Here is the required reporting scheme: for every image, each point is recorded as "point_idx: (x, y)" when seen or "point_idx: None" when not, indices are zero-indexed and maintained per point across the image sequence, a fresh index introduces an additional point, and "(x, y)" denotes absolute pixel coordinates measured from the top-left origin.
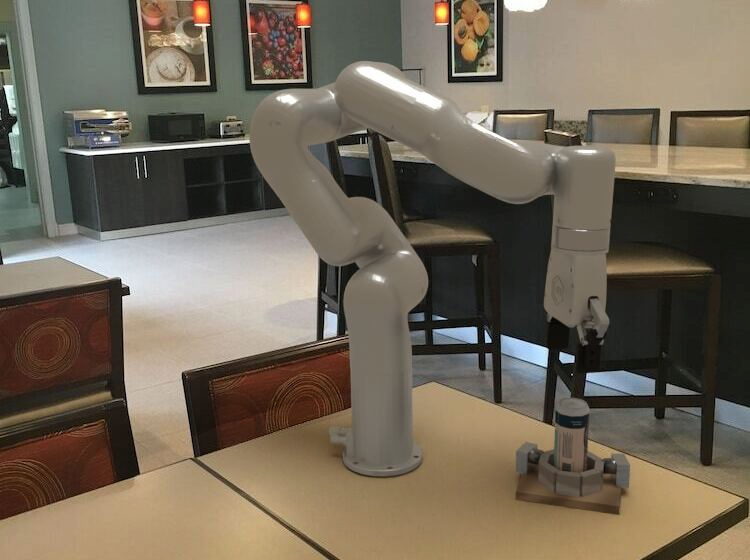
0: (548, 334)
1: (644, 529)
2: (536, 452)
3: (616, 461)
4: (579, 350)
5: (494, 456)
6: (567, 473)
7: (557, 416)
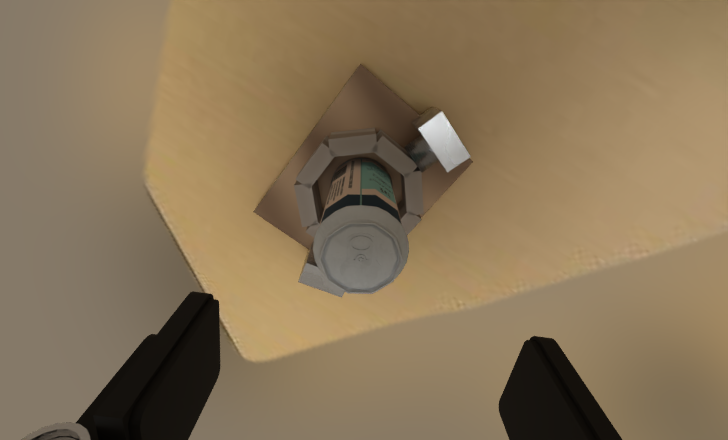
0: (577, 399)
1: (208, 215)
2: (417, 152)
3: (318, 269)
4: (121, 382)
5: (534, 116)
6: (317, 164)
7: (364, 201)
